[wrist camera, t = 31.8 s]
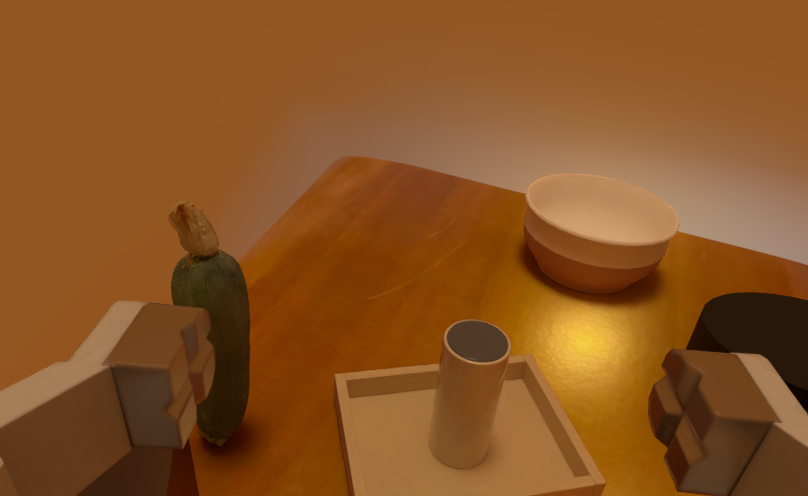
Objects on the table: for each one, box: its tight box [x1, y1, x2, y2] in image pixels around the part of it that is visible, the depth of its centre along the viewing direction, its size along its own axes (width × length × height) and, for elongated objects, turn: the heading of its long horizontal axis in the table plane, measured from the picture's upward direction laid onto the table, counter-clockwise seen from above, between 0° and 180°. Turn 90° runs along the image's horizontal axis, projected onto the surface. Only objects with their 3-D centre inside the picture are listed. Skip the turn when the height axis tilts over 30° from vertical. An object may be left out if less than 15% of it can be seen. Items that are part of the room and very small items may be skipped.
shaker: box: [429, 320, 511, 469], centre depth 40 cm, size 4×4×10 cm
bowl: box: [524, 173, 679, 294], centre depth 64 cm, size 16×16×8 cm
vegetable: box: [169, 201, 250, 447], centre depth 37 cm, size 4×4×20 cm
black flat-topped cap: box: [686, 292, 808, 414], centre depth 48 cm, size 14×18×8 cm
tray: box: [334, 354, 606, 496], centre depth 42 cm, size 17×13×3 cm
